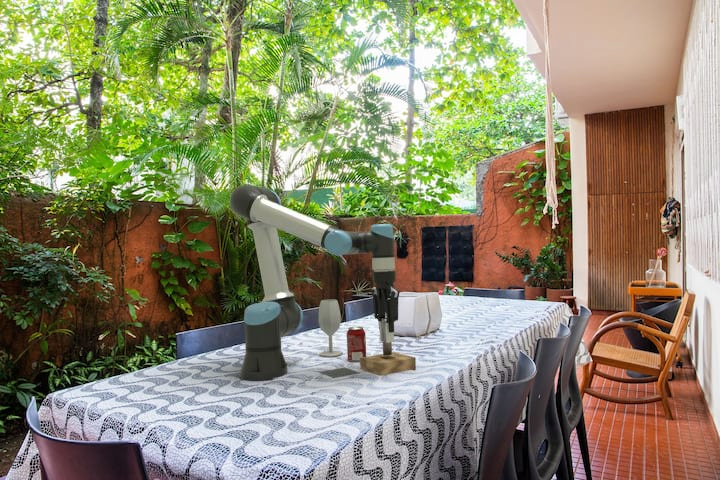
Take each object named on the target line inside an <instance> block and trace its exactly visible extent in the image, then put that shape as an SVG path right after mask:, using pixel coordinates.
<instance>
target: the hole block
mask: <svg viewBox="0 0 720 480" xmlns="http://www.w3.org/2000/svg"><path fill="white" fill-rule="evenodd" d="M416 360H417V359H416V357H415V356H410V355H407V354H403V353H400V352H396V351H392V355H388V356H385V355H383V353H380V354H375V355H374V354H373V355H369V356H366V357H362V358H360V362H359V364H360V365H359V366H360V370H362V371H365V372H368V373H371V374H375V375H378V376H386V375H391V374H395V373H401V372H407V371H416V370H417V365H416V364H417V362H416Z"/></svg>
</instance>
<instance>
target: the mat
mask: <svg viewBox="0 0 720 480" xmlns="http://www.w3.org/2000/svg"><path fill="white" fill-rule="evenodd" d="M318 373H320V374H322V375H325V376H327V377H329V378H332V379H338V378H341V377H347V376H352V375H357V374H358V375H359V374H361V372H360V371H356V370H354V369H351V368H348V367H340V368H334V369H328V370H322V371H319V372H318Z"/></svg>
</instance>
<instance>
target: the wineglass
mask: <svg viewBox="0 0 720 480" xmlns="http://www.w3.org/2000/svg"><path fill="white" fill-rule="evenodd" d="M318 307H319V308H318V325H319V329H320V330H321V331H322V332H323V333H324V334H325V335H327V336H328V350H325V351H321V352H319V353H318V355H319V356H321V357H324V358H325V357H329V358H333V357H340V356H341V355H343V351H341V350H334V348H333V345H334V344H333V336H334V334H335V333H337V331H338V330H339V329H340V327H341V322H342V316H341V315H342V314H341V310H340V305H339V302H338V300H337V299H323V300H320V304H319V306H318Z"/></svg>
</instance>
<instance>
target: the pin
mask: <svg viewBox="0 0 720 480" xmlns="http://www.w3.org/2000/svg"><path fill="white" fill-rule="evenodd" d="M381 320H382V341H381V343H382V354H383V355H385V356H388V355H392V352H393V346H392V345H393V344H392V343H393V342H390V343H386V325H385V321H387V318H381Z"/></svg>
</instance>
